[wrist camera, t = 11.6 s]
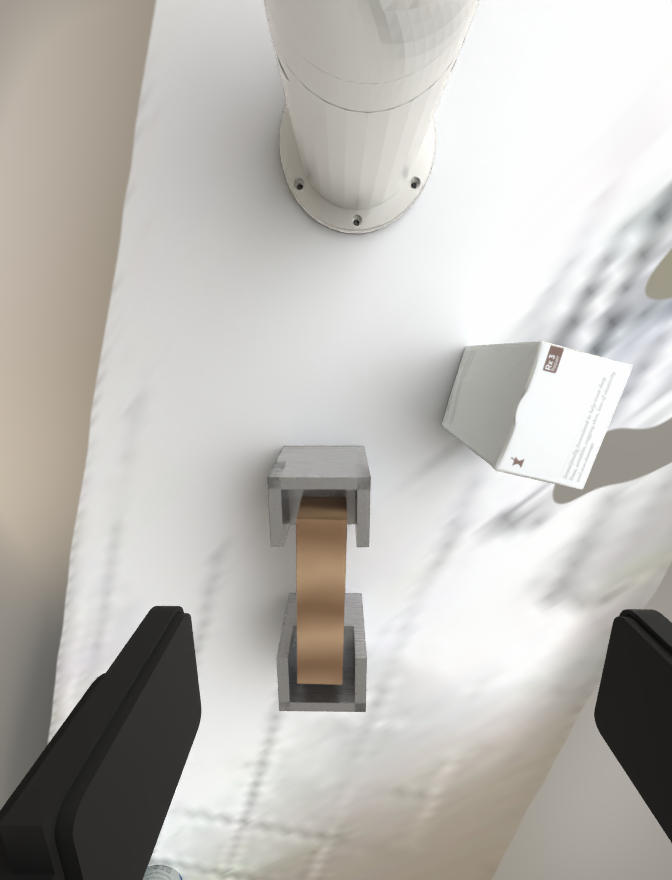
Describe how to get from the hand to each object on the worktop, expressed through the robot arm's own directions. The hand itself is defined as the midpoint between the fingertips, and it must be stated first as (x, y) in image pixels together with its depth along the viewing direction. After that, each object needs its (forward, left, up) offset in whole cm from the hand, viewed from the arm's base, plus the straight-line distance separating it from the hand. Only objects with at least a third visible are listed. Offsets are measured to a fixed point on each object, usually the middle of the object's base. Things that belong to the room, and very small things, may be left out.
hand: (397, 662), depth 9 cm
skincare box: (-2, +12, -31) cm, 33 cm away
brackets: (+15, -3, -30) cm, 34 cm away
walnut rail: (+15, -3, -25) cm, 29 cm away
